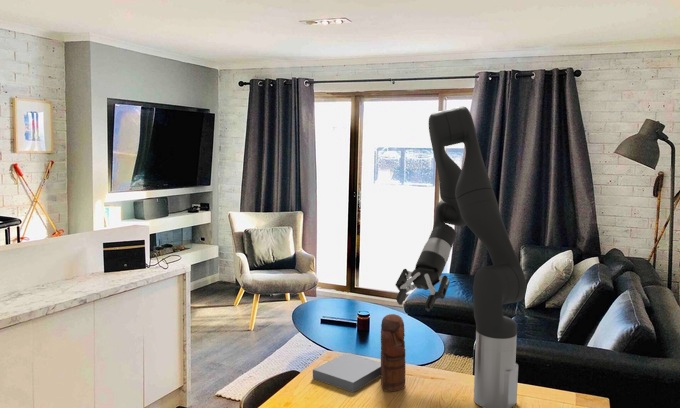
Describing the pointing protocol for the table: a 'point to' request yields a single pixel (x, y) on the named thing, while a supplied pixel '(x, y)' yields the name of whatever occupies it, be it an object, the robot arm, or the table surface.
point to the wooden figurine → (392, 353)
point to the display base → (348, 372)
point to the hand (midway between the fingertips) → (412, 306)
